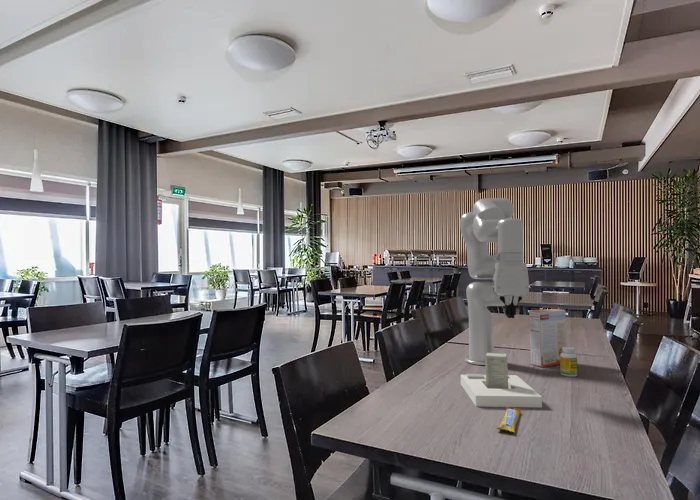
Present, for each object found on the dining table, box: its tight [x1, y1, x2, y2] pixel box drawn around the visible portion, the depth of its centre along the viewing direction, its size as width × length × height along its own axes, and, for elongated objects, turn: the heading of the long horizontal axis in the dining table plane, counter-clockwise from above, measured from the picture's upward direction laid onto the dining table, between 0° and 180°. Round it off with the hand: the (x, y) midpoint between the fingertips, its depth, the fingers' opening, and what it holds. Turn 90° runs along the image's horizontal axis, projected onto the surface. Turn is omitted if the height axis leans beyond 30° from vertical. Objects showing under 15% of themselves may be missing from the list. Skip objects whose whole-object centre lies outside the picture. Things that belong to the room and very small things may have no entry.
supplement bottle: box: [559, 346, 578, 378], centre depth 156 cm, size 5×5×10 cm
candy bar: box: [496, 407, 522, 434], centre depth 112 cm, size 17×4×2 cm, turn 153°
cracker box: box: [528, 308, 567, 368], centre depth 173 cm, size 14×6×21 cm, turn 115°
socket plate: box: [460, 373, 543, 408], centre depth 134 cm, size 22×18×4 cm
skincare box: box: [484, 352, 509, 389], centre depth 134 cm, size 6×4×12 cm
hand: (510, 317), depth 138 cm, fingers closed
